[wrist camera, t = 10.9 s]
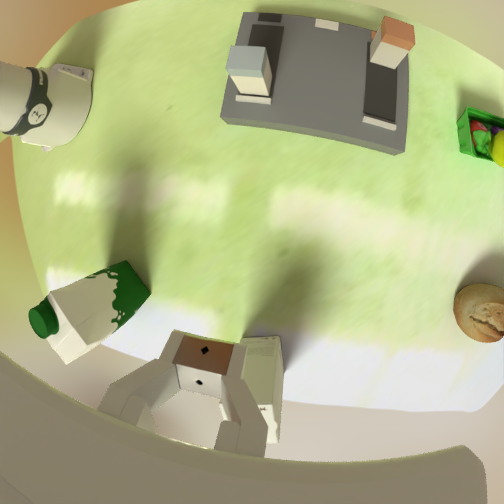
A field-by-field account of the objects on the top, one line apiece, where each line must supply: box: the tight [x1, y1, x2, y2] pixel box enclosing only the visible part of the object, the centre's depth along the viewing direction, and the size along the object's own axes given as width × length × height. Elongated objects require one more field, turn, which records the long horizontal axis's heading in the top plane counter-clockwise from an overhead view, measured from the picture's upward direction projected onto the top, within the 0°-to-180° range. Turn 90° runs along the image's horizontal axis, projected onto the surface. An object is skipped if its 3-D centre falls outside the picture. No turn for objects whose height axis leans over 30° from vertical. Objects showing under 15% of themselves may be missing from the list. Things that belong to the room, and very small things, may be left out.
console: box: [220, 12, 409, 155], centre depth 30 cm, size 24×18×5 cm
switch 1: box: [226, 46, 272, 96], centre depth 26 cm, size 4×3×8 cm
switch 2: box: [370, 16, 415, 69], centre depth 23 cm, size 4×3×8 cm
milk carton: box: [29, 260, 151, 364], centre depth 34 cm, size 9×9×20 cm
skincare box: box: [219, 336, 284, 443], centre depth 35 cm, size 8×7×16 cm
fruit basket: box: [457, 107, 504, 168], centre depth 24 cm, size 11×9×11 cm
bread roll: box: [453, 283, 504, 343], centre depth 31 cm, size 10×15×8 cm, turn 79°
